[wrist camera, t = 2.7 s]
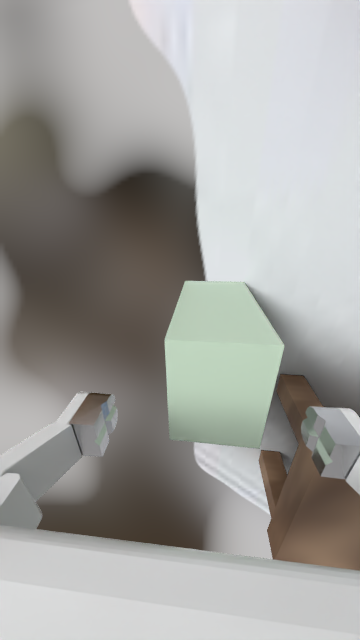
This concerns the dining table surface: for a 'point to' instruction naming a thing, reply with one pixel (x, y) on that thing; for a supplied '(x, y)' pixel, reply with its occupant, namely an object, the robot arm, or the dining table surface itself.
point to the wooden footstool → (308, 496)
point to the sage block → (220, 365)
